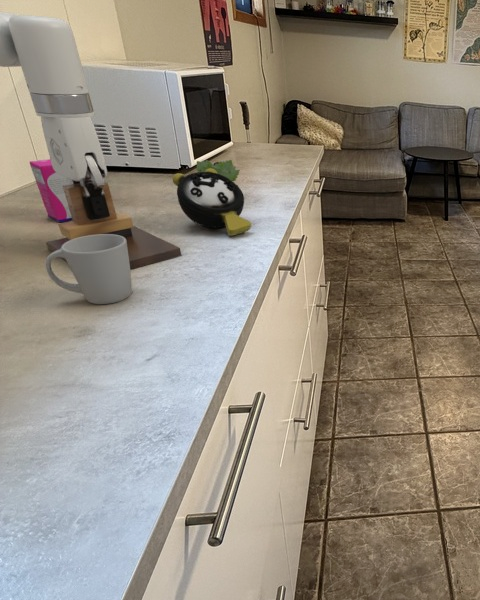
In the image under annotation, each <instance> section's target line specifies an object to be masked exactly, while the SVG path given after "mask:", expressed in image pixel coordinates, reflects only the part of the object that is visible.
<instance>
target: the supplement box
mask: <svg viewBox="0 0 480 600" xmlns="http://www.w3.org/2000/svg"><path fill="white" fill-rule="evenodd" d="M29 165H30V168H31V171H32V174H33V177H34V180H35V182H36V186H37V189H38V191H39V193H40V194H39V195H40V197H41V199H42V202H43V205H44V208H45V211H46V215H47V216H48V217H49V218H51V219H52V220H54V221H56V222H57V223H58V224H60V223H66V222H71V221H73V219H72V216H71V213H70V210H69V206H68V203H67V200H66V197H65V193H64V190H63V187H62V186H63V185H70V184H71V183H70V180H69V178H67V177H65V176H63V175H61V174H59V173H57V172H55V171H54V169H53V167H52V163H51V160H50V158H49V159H41V160H40V159H39V160H30V161H29Z"/></svg>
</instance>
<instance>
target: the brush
mask: <svg viewBox="0 0 480 600" xmlns="http://www.w3.org/2000/svg"><path fill="white" fill-rule="evenodd" d="M104 182H105V186H104V187H103V189H104V193H105V198H106V202H107V206H108V209H109V213H110V216H109V217H105V218H100V219H95V220H91V219H89V218H88V215H87V212H86V209H85V205H84V202H83V199H82V197H85V196H84V194H83V191H82V187H81V184H80V183H78V184H70V185H63V186H62V187H63V190H64V193H65V197H66V200H67V203H68V206H69V210H70V213H71V216H72V219H73V220H71V221H66V222H61V223H58V224H57V225H58V228H59V232H60V235H62V236H63V237H64V238H66V239H67V242H68V241H70V240H72V239H75V238H79V237H83V236H89V235H97V234H114V235H120V236H123V237H126V236H130V235H132V231H131V228H133V226H134V224H133V219H132V217H131V216H130V215H127V214H125V213H123V212H116V208H115V204H114V200H113V197H112V193H111V189H110V185H109V183H108V182H106V181H104ZM89 183H91V182H87V187H88V184H89Z"/></svg>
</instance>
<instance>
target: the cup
mask: <svg viewBox="0 0 480 600" xmlns="http://www.w3.org/2000/svg"><path fill="white" fill-rule="evenodd" d="M61 257H63V258H66V260H67V261H66V263H67V265H68V267H69V269H70V271H71V273H72V275H73V278H74V279H75V281H76V282H77V283H71V282H67V281H64V280H62V279H60V277H58V276H57V275H56V274H55V272H54V271H53V269H52V261H53V260H54V259H55V258H56V259H57V258H61ZM45 269H46V273H47V275H48V276H49V278H50V280H51V281H53V283H55V284H56V285H57V286H59V287H60V288H62V289H65V290H66V291H69V292H73V293H77V294H82V295H84V297H85V300H86V301H87V302H89V303H91V304H94V305H109V304H115V303H119V302H121V301H124V300H125V299H128V297H130V296H131V295H132V294H133V287H132V275H131V273H132V272H131V269H130V263H129V256H128V249H127V241H126V239H125V238H124V237H123V236H120V235H114V234H97V235H89V236H83V237H79V238H75V239H72V240H70V241H68V242H66V243H64V244H63V245H62V247H61V249H59V250H57V251H55V252H51V253H49V255H48V256H47V257H46V259H45Z"/></svg>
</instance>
